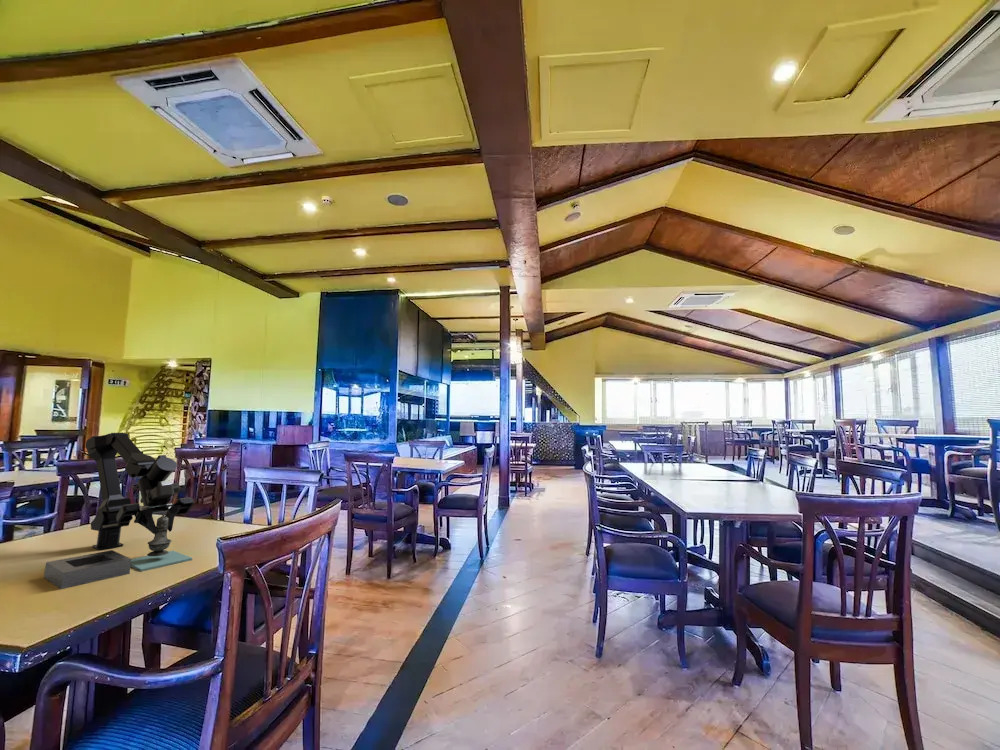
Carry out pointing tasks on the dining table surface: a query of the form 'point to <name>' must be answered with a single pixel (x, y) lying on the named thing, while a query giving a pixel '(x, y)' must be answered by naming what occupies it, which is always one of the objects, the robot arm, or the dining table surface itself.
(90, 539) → the dining table surface
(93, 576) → the square socket
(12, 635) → the dining table surface
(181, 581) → the dining table surface
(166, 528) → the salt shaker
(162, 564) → the teal mat
